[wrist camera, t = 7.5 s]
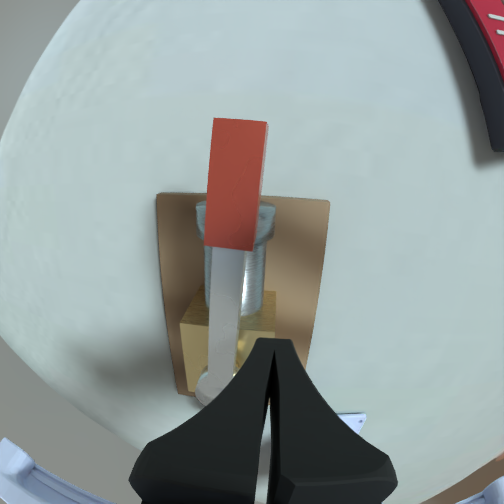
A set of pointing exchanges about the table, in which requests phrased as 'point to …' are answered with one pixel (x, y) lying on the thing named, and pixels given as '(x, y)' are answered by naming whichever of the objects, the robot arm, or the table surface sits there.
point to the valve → (253, 301)
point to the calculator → (483, 55)
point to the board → (276, 269)
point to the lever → (230, 239)
